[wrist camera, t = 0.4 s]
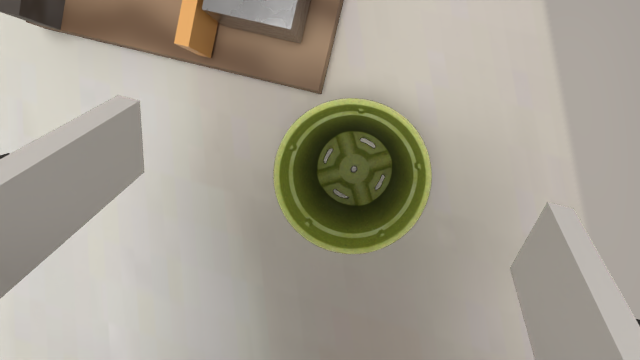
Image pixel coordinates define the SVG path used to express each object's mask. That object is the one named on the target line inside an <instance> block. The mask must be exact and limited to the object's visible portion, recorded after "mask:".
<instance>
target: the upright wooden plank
mask: <svg viewBox="0 0 640 360" xmlns="http://www.w3.org/2000/svg"><path fill="white" fill-rule="evenodd" d="M202 6H203V0H182V4H181V9H180V15H179V20H178V25H177V30H176V35H175V41H174V44H176V45H178V46H180V47H182V48H184V49H186V50H189V51H191V52H193V53H195V54H197V55H199V56H204V57H208V58H211V55H212V50H213V45H214V40H215V35H216V30H217V25H218V22H217V21H216V20H215V19H214V18H212V17H211V16H210V15H208V14H207V13H206V12H205V11H203V10H202Z"/></svg>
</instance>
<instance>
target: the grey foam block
mask: <svg viewBox="0 0 640 360" xmlns="http://www.w3.org/2000/svg"><path fill="white" fill-rule="evenodd" d="M310 1H311V0H203V6H202V10H203V11H205V12H206V13H207V14H208V15H210V16H211V17H212V18H214V19H215V20H216V21H217V22H219V23H220V24H221V25H223V26H226V27H231V28H235V29H240V30H244V31H248V32H253V33H257V34H261V35H266V36H270V37H275V38H279V39H283V40H288V41H292V42H296V43H301V40H302V36H303V31H304V27H305V23H306V18H307V14H308V9H309V5H310Z"/></svg>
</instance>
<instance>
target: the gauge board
mask: <svg viewBox="0 0 640 360" xmlns="http://www.w3.org/2000/svg"><path fill="white" fill-rule="evenodd" d="M343 1H344V0H311V1H310V5H309V9H308V14H307V18H306V23H305V27H304V31H303V36H302V40H301V43H296V42H292V41H288V40H283V39H279V38H275V37H270V36H266V35H261V34H257V33H253V32H248V31H244V30H240V29H235V28H231V27H226V26H223V25H221V24H220V23H219V22H218V25H217V30H216V35H215V40H214V45H213V50H212V55H211V58H208V57H204V56H199V55H197V54H195V53H193V52H191V51H189V50H186V49H184V48H182V47H180V46H178V45H176V44H174V41H175V35H176V30H177V25H178V20H179V15H180V9H181V4H182V0H0V12H2V13H5V14H8V15H11V16H14V17H17V18H20V19H23V20H26V22H28V23H31V24H34V25H37V26H40V27H43V28H46V29H50V30H54V31H58V32H62V33H67V34H71V35H75V36H79V37H83V38H88V39H92V40H96V41H100V42H104V43H109V44H113V45H117V46H121V47H125V48H130V49H134V50H138V51H142V52H146V53H151V54H155V55H159V56H163V57H167V58H172V59H176V60H180V61H184V62H188V63H193V64H197V65H201V66H205V67H209V68H214V69H218V70H222V71H226V72H231V73H235V74H239V75H243V76H247V77H252V78H256V79H260V80H264V81H268V82H273V83H277V84H281V85H285V86H289V87H294V88H298V89H302V90H306V91H310V92H315V93H319V94H321V93H322V88H323V84H324V80H325V76H326V72H327V68H328V63H329V59H330V55H331V51H332V47H333V42H334V38H335V34H336V30H337V26H338V21H339V17H340V13H341V9H342V5H343Z"/></svg>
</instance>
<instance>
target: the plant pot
mask: <svg viewBox="0 0 640 360" xmlns="http://www.w3.org/2000/svg"><path fill="white" fill-rule="evenodd" d="M361 138H366V139H368V140H369V141H371V142H373V143H374V144H375V146H376V147H375V148H372V147H371V146H369V145H368V144H366V143H363V142H361V141H360V139H361ZM331 148H332V149H333V151H332V153H331V154H330V156H329V158H328V160H327V163H324V161H323V160H324V157H325V155H326V153H327V151H328V149H331ZM352 166H356V167H357V170H356V172H352V171H351V167H352ZM383 174H384V176H385V178H384V180H383V182H382V186H381V187H380V188H379V189H378V190H375V186H376V185H377V183H378V182H379V180H380V178H381V175H383ZM273 179H274V188H275V193H276V197H277V200H278V203H279V206H280V208H281V210H282V212H283V214H284V216H285V218H286V219H287V221H288V222H289V223H290V225H291V226H292V227H293V228H294V229H295V230H296V231H297V232H298V233H299V234H300V235H301V236H303V237H304V238H305V239H306V240H308V241H309V242H311V243H313V244H314V245H316V246H319V247H321V248H323V249H326V250H329V251H332V252H337V253H344V254H362V253H369V252H373V251H376V250H379V249H382V248H384V247H387V246H389V245H390V244H392V243H394V242H396V241H397V240H399V239H400V238H401V237H403V236H404V235H405V234H406V233H407V232H408V231H409V230H410V229H411V228H412V227H413V226H414V224H415V223H416V222H417V220H418V219H419V217H420V215H421V214H422V212H423V210H424V208H425V206H426V203H427V200H428V197H429V193H430V188H431V180H432V173H431V164H430V159H429V155H428V151H427V148H426V146H425V144H424V142H423V140H422V138H421V136H420V134H419V133H418V132H417V130H416V129H415V127H414V126H413V125H412V124H411V123H410V122H409V121H408V120H407V119H406V118H405V117H403V116H402V115H401V114H400V113H398V112H397V111H395V110H393V109H392V108H390V107H388V106H385V105H383V104H381V103H378V102H375V101H371V100H366V99H357V98H346V99H338V100H333V101H329V102H326V103H323V104H320V105H318V106H316V107H314V108H312V109H310V110H309V111H307V112H306V113H305V114H303V115H302V116H301V117H300V118H298V119H297V120H296V121H295V122H294V124H293V125H292V126H291V127H290V128H289V130H288V131H287V133H286V134H285V136H284V138H283V139H282V141H281V144H280V146H279V148H278V151H277V154H276V158H275V163H274V177H273ZM334 189H337V190H338V191H339V192H341V193H342V194H345V195H346V196H348V197H349V198H341V197H339V196H337V195H336V194H334V192H333V190H334Z"/></svg>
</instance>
